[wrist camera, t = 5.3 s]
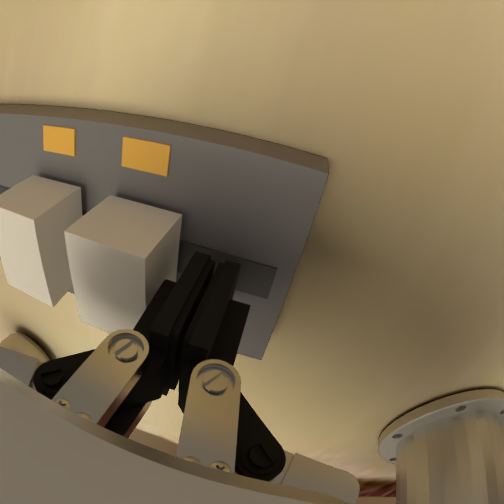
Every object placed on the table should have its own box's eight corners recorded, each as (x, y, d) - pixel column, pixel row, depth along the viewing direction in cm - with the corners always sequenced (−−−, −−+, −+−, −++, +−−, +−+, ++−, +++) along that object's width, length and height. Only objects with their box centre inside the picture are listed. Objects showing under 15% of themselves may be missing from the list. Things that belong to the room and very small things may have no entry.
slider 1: (80, 187, 12) (33, 220, 9) (88, 269, 14) (53, 307, 12) (32, 175, 12) (-13, 202, 10) (43, 251, 14) (8, 283, 12)
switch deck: (327, 158, 12) (328, 174, 10) (267, 332, 17) (260, 361, 16) (-47, 105, 13) (-68, 113, 11) (-32, 219, 19) (-49, 231, 17)
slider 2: (182, 214, 12) (145, 258, 9) (174, 300, 14) (147, 348, 12) (110, 195, 12) (64, 231, 9) (114, 279, 14) (80, 320, 12)
